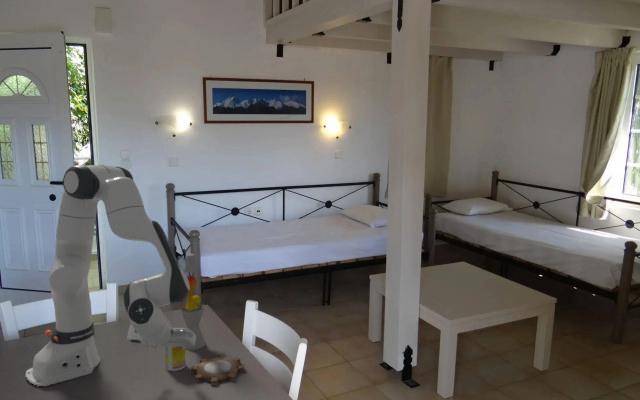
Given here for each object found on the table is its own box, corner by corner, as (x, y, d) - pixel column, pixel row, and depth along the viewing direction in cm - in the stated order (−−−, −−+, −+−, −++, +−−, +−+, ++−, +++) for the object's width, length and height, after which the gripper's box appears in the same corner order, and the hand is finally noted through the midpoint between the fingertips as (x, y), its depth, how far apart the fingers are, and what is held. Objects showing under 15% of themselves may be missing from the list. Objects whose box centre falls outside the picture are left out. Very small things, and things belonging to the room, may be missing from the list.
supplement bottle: (189, 364, 173) (188, 329, 171) (178, 373, 166) (176, 337, 164) (173, 361, 175) (171, 326, 173) (161, 370, 169) (159, 334, 166)
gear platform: (212, 391, 156) (212, 386, 155) (180, 372, 167) (180, 367, 167) (255, 370, 169) (255, 365, 168) (223, 354, 180) (222, 349, 180)
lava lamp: (188, 352, 181) (185, 259, 175) (176, 344, 188) (173, 254, 182) (210, 344, 187) (207, 254, 182) (198, 337, 194) (195, 249, 188)
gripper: (192, 321, 153) (202, 337, 165) (126, 320, 154) (140, 336, 165) (188, 341, 150) (198, 356, 161) (121, 340, 150) (136, 355, 162)
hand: (168, 346), depth 163 cm, fingers open, 8 cm apart
